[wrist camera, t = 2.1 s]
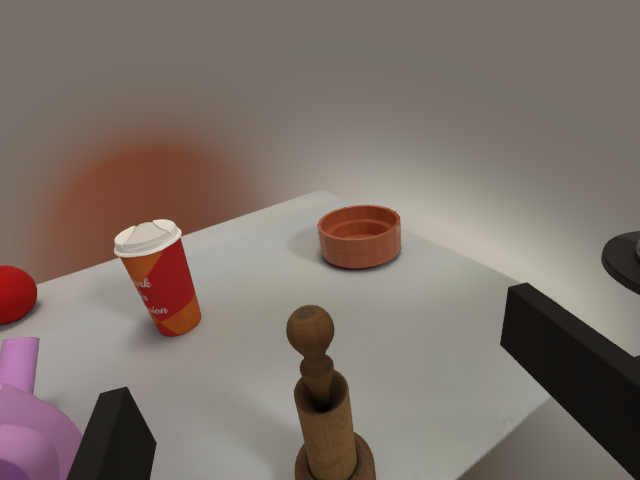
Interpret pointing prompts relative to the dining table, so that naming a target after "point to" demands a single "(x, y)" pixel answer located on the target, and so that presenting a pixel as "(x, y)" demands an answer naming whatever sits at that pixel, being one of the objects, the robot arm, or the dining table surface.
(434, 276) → the dining table surface
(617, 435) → the robot arm
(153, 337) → the dining table surface
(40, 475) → the teapot
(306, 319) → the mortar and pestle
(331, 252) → the bowl
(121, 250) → the coffee cup
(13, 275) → the fruit
